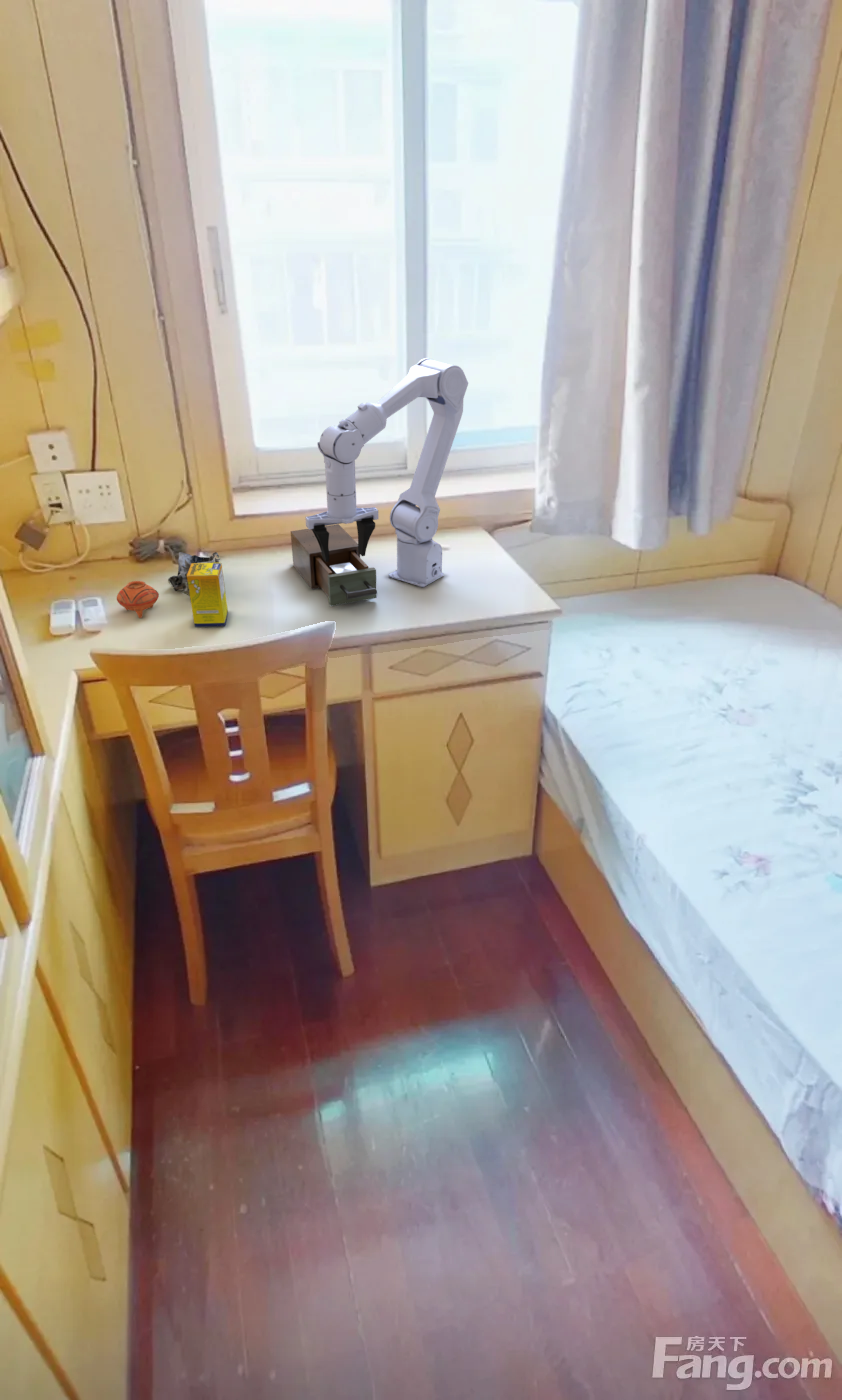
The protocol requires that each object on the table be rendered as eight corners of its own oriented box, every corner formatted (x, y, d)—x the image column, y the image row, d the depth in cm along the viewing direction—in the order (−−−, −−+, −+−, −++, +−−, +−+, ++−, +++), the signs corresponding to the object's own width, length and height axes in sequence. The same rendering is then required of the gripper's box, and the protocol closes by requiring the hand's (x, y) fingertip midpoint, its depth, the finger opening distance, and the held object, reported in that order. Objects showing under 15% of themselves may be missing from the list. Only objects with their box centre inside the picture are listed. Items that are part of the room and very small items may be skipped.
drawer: (386, 608, 166) (385, 579, 163) (339, 617, 163) (338, 588, 159) (355, 574, 180) (354, 547, 176) (311, 582, 176) (309, 554, 173)
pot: (110, 619, 162) (107, 584, 160) (130, 610, 169) (127, 577, 167) (149, 621, 161) (146, 586, 159) (167, 612, 168) (164, 579, 166)
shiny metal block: (359, 590, 171) (359, 572, 168) (338, 593, 169) (337, 575, 167) (350, 579, 175) (349, 562, 173) (330, 583, 173) (329, 565, 171)
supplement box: (198, 613, 165) (190, 562, 159) (228, 612, 166) (222, 561, 160) (193, 627, 160) (185, 575, 154) (225, 626, 161) (218, 574, 155)
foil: (235, 557, 181) (217, 544, 166) (231, 606, 181) (213, 598, 166) (182, 553, 181) (159, 539, 166) (178, 602, 181) (155, 593, 166)
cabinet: (361, 581, 179) (360, 545, 175) (311, 589, 175) (309, 553, 171) (340, 558, 189) (338, 524, 185) (293, 565, 186) (290, 531, 181)
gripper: (311, 502, 155) (315, 570, 162) (383, 493, 160) (384, 558, 167) (300, 491, 160) (305, 557, 168) (370, 482, 165) (372, 546, 173)
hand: (344, 557), depth 168 cm, fingers open, 7 cm apart
